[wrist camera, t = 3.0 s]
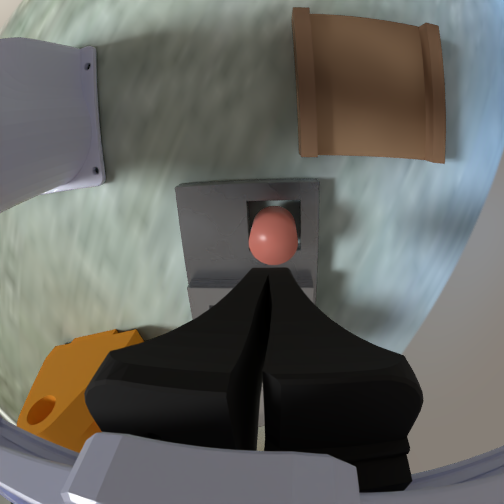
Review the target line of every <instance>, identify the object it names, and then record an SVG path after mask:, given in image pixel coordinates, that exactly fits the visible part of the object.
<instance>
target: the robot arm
mask: <svg viewBox="0 0 504 504" xmlns="http://www.w3.org/2000/svg"><path fill="white" fill-rule="evenodd" d="M89 64H90V65H91V66H90V68H89V70H88V69H87V67H88V65H89ZM96 167H97V168H98V169H99V173H96ZM105 180H106V176H105V168H104V161H103V153H102V144H101V134H100V123H99V110H98V94H97V67H96V48H95V47H93V46H86V47H84V48H81V49H79V48H74V47H70V46H66V45H61V44H56V43H51V42H46V41H41V40H35V39H29V38H21V37H15V38H4V39H0V213H1V212H3V211H5V210H7V209H10V208H12V207H14V206H16V205H18V204H20V203H22V202H24V201H27V200H29V199H31V198H33V197H36V196H38V195H43V194H48V193H54V192H60V191H67V190H73V189H80V188H87V187H94V186H99V185H102V184H103V183H104V182H105ZM262 383H263V398H264V420H265V447H264V451H256V450H257V436H258V422H259V408H260V396H261V389H262ZM84 396H85V403H86V405H87V408H88V410H89V412H90V414H91V416H92V417H93V419H94V420H95V422H96V423H97V425H98V426H99V428H100V429H101V431H102V432H99V433H95V434H94V435H92V436H91V437H90V438H89V439H87V440H86V442H85V444H84V446H83V448H82V450H81V452H80V453H78V452H75V451H73V450H70V449H67V448H65V447H62V446H60V445H57V444H55V443H52V442H50V441H48V440H45V439H43V438H41V437H38V436H36V435H34V434H32V433H30V432H28V431H25V430H23V429H21V428H19V427H17V426H15V425H13V424H11V423H9V422H8V421H6V420H4V419H2V417H1V415H0V495H2V496H3V497H5V498H6V499H7V500H9V501H10V502H12V503H13V504H504V446H501V447H499V448H496V449H494V450H491V451H489V452H486V453H483V454H481V455H478V456H475V457H472V458H469V459H466V460H463V461H460V462H457V463H454V464H450V465H447V466H443V467H440V468H436V469H433V470H428V471H424V472H420V473H416V474H411V472H410V468H409V463H408V459H407V455H406V454H408V453H409V451H410V446H409V442H408V439H407V435H408V433H409V432H410V430H411V428H412V426H413V424H414V422H415V421H416V419H417V417H418V415H419V413H420V411H421V407H422V404H423V394H422V390H421V387H420V385H419V382H418V380H417V378H416V376H415V374H414V372H413V370H412V368H411V367H410V365H409V363H408V361H407V360H406V358H405V356H404V355H401V354H398V353H395V352H392V351H390V350H387V349H384V348H381V347H378V346H376V345H374V344H372V343H370V342H368V341H365V340H363V339H361V338H359V337H358V336H356V335H354V334H352V333H350V332H349V331H347V330H346V329H344V328H343V327H341V326H340V325H338V324H337V323H335V322H334V321H332V320H331V319H330V318H329V317H327V316H326V315H325V314H324V313H323V312H322V311H321V310H320V309H319V308H318V307H317V306H316V305H315V304H314V303H313V302H312V301H311V300H310V299H309V298H308V296H307V295H306V294H305V293H304V291H303V290H302V289H301V287H300V286H299V285H298V283H297V282H296V280H295V278H294V277H293V275H292V273H291V270H290V269H289V268H288V267H275V268H252V269H251V270H250V271H249V272H248V273H247V274H246V275H245V276H244V277H243V278H242V280H241V281H240V282H239V283H238V284H237V285H236V286H235V287H234V288H233V289H232V290H231V291H230V292H229V293H228V294H227V295H226V296H225V297H223V298H222V299H221V300H220V301H219V302H218V303H217V304H215V305H214V306H213V307H211V308H210V309H209V310H207V311H206V312H204V313H203V314H201V315H200V316H198V317H197V318H195V319H193V320H192V321H190V322H188V323H186V324H184V325H182V326H180V327H178V328H176V329H175V330H173V331H170V332H168V333H166V334H163V335H161V336H158V337H156V338H153V339H150V340H148V341H145V342H142V343H139V344H135V345H131V346H128V347H124V348H120V349H116V350H112V351H110V352H109V353H108V354H107V356H106V357H105V359H104V360H103V362H102V363H101V365H100V367H99V368H98V370H97V371H96V373H95V375H94V376H93V378H92V379H91V381H90V383H89V384H88V386H87V388H86V390H85V393H84Z"/></svg>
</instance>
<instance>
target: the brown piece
mask: <svg viewBox="0 0 504 504" xmlns="http://www.w3.org/2000/svg"><path fill="white" fill-rule="evenodd" d="M292 31H293V44H294V59H295V74H296V92H297V113H298V139H299V154H300V155H301V157H318V155H349V156H375V157H393V158H408V159H420V160H427V161H430V162H433V163H443V164H445V141H446V106H445V83H444V69H443V58H442V49H441V41H440V33H439V27H438V26H437V25H433V24H429V23H425V24H423V25H421V26H420V27H417V26H412V25H407V24H402V23H397V22H391V21H385V20H378V19H370V18H362V17H353V16H342V15H327V14H310V11H309V8H302V7H293V12H292Z"/></svg>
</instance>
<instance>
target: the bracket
mask: <svg viewBox="0 0 504 504" xmlns="http://www.w3.org/2000/svg"><path fill="white" fill-rule="evenodd" d="M142 342H144V340H143V339H142V337H141V336H140V334H139V333H138V331H137V330H136V329H135V330H131V331H126V332H122V333H118V331H117V330H116V329H114V330H110V331H106V332H101V333H97V334H92V335H88V336H83V337H79V338H75V339H74V340H73V341H72V342H71V343H70V344H65V345H60V346H55V347H54V349H53V350H52V351H51V352H50V354H49V355H48V356H47V357H46V359H45V361H44V363H43V365H42V367H41V369H40V371H39V373H38V375H37V377H36V379H35V381H34V384H33V386H32V388H31V390H30V392H29V394H28V397H27V399H26V401H25V403H24V406H23V408H22V410H21V413H20V415H19V418H18V421H17V427H19V428H21V429H23V430H25V431H28V432H30V433H32V434H34V435H36V436H38V437H41V438H43V439H45V440H48V441H50V442H52V443H55V444H57V445H60V446H62V447H65V448H67V449H70V450H73V451H75V452H78V453H80V452H81V450H82V448H83V446H84V444H85V442H86V440H87V439H89V438H90V437H91V436H92V435H94V434H95V433H99V432H102V431H101V429H100V428H99V426H98V425H97V423H96V422H95V420H94V419H93V417H92V416H91V414H90V412H89V410H88V408H87V405H86V403H85V396H84V393H85V390H86V388H87V386H88V384H89V383H90V381H91V379H92V378H93V376H94V375H95V373H96V371H97V370H98V368H99V367H100V365H101V363H102V362H103V360H104V359H105V357H106V356H107V354H108V353H109V352H110V351H112V350H116V349H120V348H124V347H128V346H131V345H135V344H139V343H142Z"/></svg>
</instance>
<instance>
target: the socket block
mask: <svg viewBox="0 0 504 504" xmlns="http://www.w3.org/2000/svg"><path fill="white" fill-rule="evenodd" d="M175 191H176V200H177V208H178V216H179V223H180V231H181V238H182V245H183V252H184V258H185V265H186V271H187V278H188V284H189V285H188V287H187V290H188V296H189V302H190V307H191V313H192V318H193V319H195V318H197V317H198V316H200V315H201V314H203V313H204V312H206V311H207V310H209V309H210V308H211V307H213V306H214V305H215V304H217V303H218V302H219V301H220V300H221V299H222V298H223V297H225V296H226V295H227V294H228V293H229V292H230V291H231V290H232V289H233V288H234V287H235V286H236V285H237V284H238V283H239V282H240V281H241V280H242V278H243V277H244V276H245V275H246V274H247V273H248V272H249V271H250V270H251V269H252V268H275V267H288V268H289V269H290V270H291V273H292V275H293V277H294V278H295V280H296V282H297V283H298V285H299V286H300V287H301V289H302V290H303V291H304V293H305V294H306V295H307V296H308V298H309V299H310V300H311V301H312V302H313V303H314V304H315V303H316V285H317V262H318V229H319V181H318V180H317V179H264V180H237V181H217V182H200V183H185V184H179V185H178V186H176V187H175ZM268 200H300V244H298V246H297V250H296V252H295V254H294V255H293V257H292V258H291V259H289V260H288V261H287V262H285V263H282V264H279V265H268V264H265V263H262V262H260V261H259V260H257V259H256V258H255V257H254V255H253V254H252V252H251V250H250V248H249V236H250V224H249V207H248V201H268Z"/></svg>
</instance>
